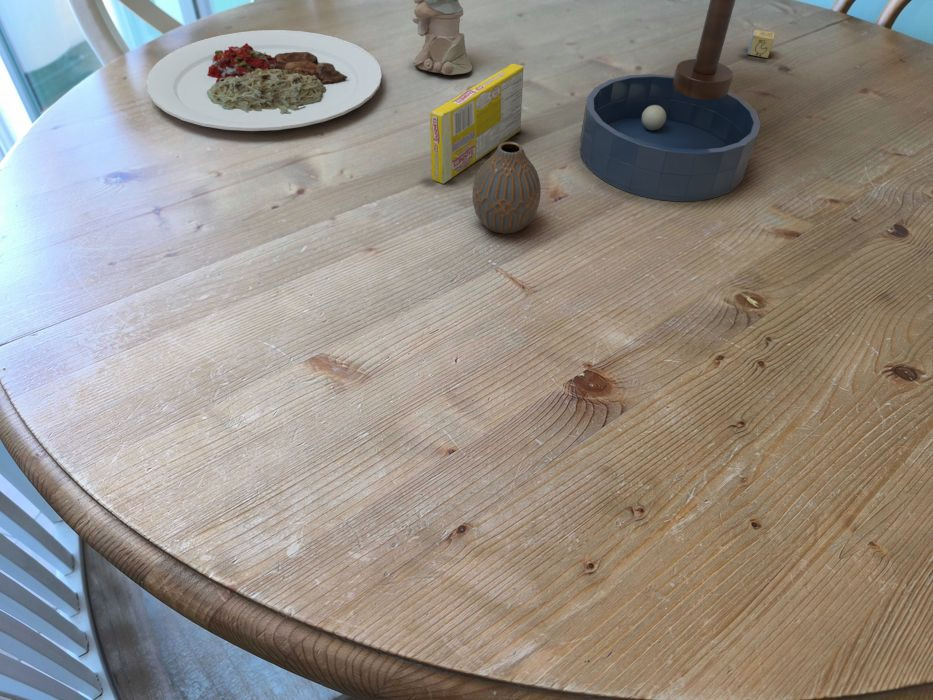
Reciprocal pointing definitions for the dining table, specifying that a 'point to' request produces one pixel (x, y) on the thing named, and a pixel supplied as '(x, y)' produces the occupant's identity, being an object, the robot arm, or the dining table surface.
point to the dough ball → (653, 117)
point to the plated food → (264, 80)
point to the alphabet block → (761, 43)
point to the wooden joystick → (708, 58)
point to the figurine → (441, 37)
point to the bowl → (666, 139)
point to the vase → (506, 190)
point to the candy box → (475, 122)
